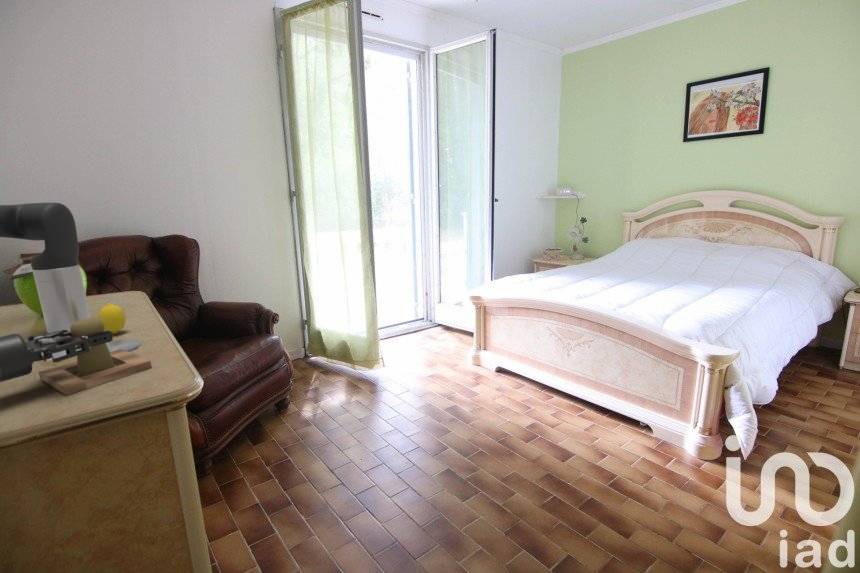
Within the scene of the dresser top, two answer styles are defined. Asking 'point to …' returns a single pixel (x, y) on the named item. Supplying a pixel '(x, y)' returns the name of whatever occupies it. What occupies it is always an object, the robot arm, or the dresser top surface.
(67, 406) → the dresser top surface
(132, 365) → the walnut board
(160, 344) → the dresser top surface
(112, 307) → the lemon
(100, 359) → the cork
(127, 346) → the slate coaster
